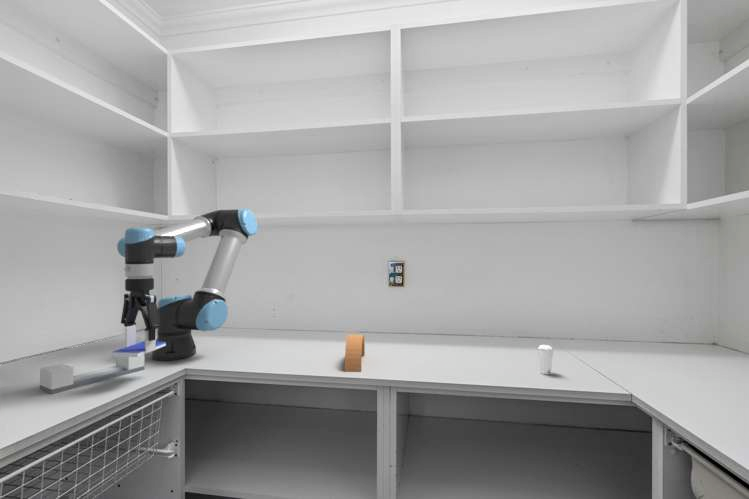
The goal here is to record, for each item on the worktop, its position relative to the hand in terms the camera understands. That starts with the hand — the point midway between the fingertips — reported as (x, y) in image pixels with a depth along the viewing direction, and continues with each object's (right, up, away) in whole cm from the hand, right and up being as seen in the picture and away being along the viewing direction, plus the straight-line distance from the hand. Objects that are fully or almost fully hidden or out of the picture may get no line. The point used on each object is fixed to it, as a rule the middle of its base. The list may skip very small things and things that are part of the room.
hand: (140, 348), depth 112 cm
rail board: (-16, -10, +2) cm, 19 cm away
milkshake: (+130, -10, +6) cm, 130 cm away
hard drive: (0, -1, 0) cm, 1 cm away
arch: (+66, -10, +19) cm, 69 cm away
